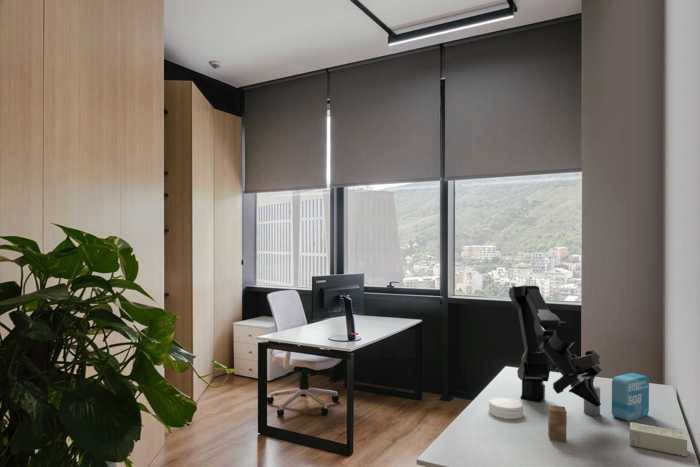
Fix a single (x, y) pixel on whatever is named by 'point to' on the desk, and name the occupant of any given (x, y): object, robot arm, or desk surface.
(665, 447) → the skincare box
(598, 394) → the grey cylinder
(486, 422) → the desk surface
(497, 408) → the coaster
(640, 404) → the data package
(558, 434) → the walnut block
